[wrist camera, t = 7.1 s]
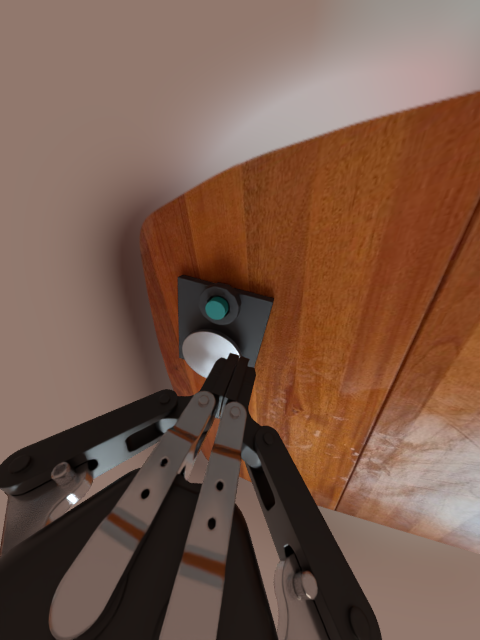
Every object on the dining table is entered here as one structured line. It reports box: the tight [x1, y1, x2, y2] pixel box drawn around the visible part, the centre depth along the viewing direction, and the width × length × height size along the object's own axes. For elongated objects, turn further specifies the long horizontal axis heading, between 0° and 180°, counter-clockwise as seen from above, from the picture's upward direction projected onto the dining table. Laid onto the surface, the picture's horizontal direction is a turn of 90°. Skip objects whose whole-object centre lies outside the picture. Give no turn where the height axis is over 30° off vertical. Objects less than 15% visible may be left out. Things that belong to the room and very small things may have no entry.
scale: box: [178, 275, 274, 368], centre depth 29 cm, size 17×14×3 cm
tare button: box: [205, 296, 229, 320], centre depth 25 cm, size 3×3×2 cm
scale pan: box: [182, 329, 242, 378], centre depth 30 cm, size 10×10×1 cm
